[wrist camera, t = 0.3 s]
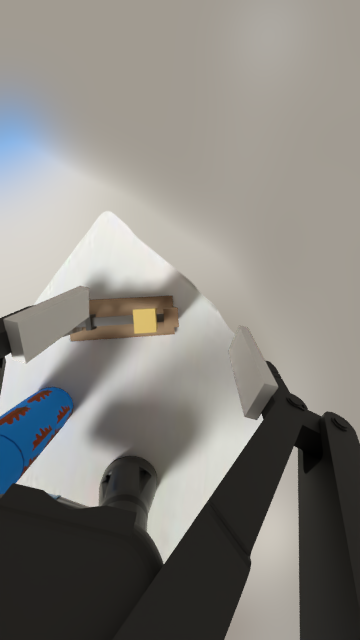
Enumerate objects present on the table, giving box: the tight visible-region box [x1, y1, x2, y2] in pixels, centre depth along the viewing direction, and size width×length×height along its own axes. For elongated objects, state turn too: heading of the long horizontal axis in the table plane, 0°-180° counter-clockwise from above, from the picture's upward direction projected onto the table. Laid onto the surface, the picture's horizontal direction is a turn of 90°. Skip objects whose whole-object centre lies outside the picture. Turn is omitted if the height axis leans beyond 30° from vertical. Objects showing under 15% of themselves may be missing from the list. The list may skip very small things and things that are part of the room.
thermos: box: [0, 387, 73, 494], centre depth 35 cm, size 11×11×25 cm
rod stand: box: [63, 296, 179, 341], centre depth 42 cm, size 10×28×10 cm, turn 93°
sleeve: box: [133, 308, 158, 334], centre depth 37 cm, size 4×4×9 cm
